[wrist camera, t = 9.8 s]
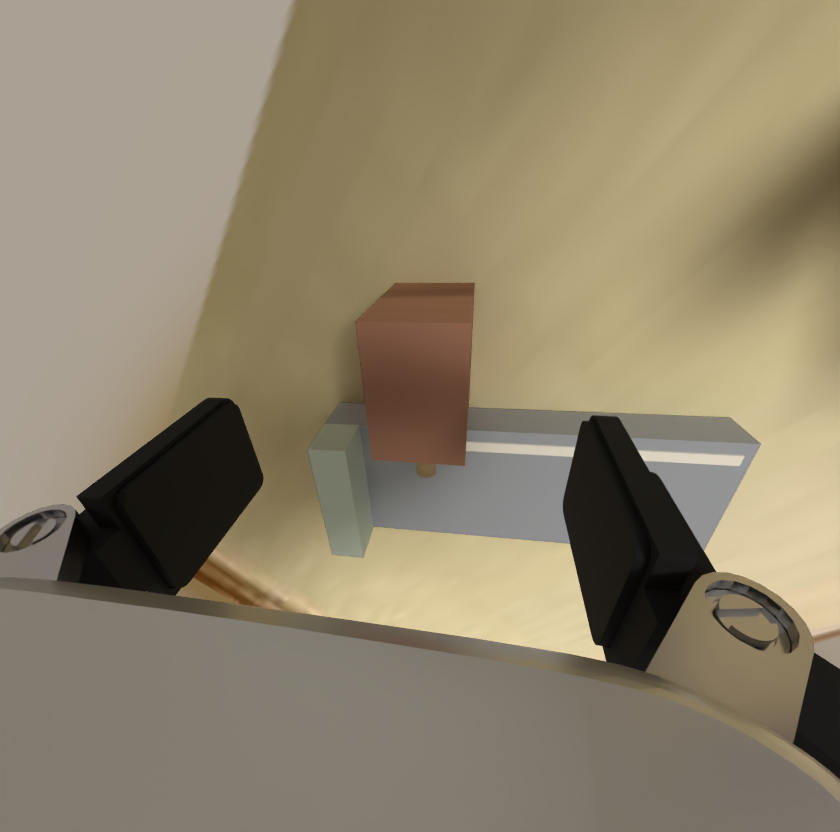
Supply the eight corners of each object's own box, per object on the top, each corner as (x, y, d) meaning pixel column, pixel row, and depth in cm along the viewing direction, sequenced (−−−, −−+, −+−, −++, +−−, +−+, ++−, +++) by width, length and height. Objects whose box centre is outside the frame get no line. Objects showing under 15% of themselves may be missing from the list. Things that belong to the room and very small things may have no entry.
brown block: (395, 283, 19) (355, 321, 13) (474, 282, 18) (471, 323, 12) (404, 424, 23) (376, 502, 17) (467, 427, 22) (463, 509, 16)
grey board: (339, 402, 23) (307, 449, 18) (730, 417, 19) (800, 477, 15) (355, 498, 27) (332, 554, 22) (681, 523, 24) (725, 594, 19)
